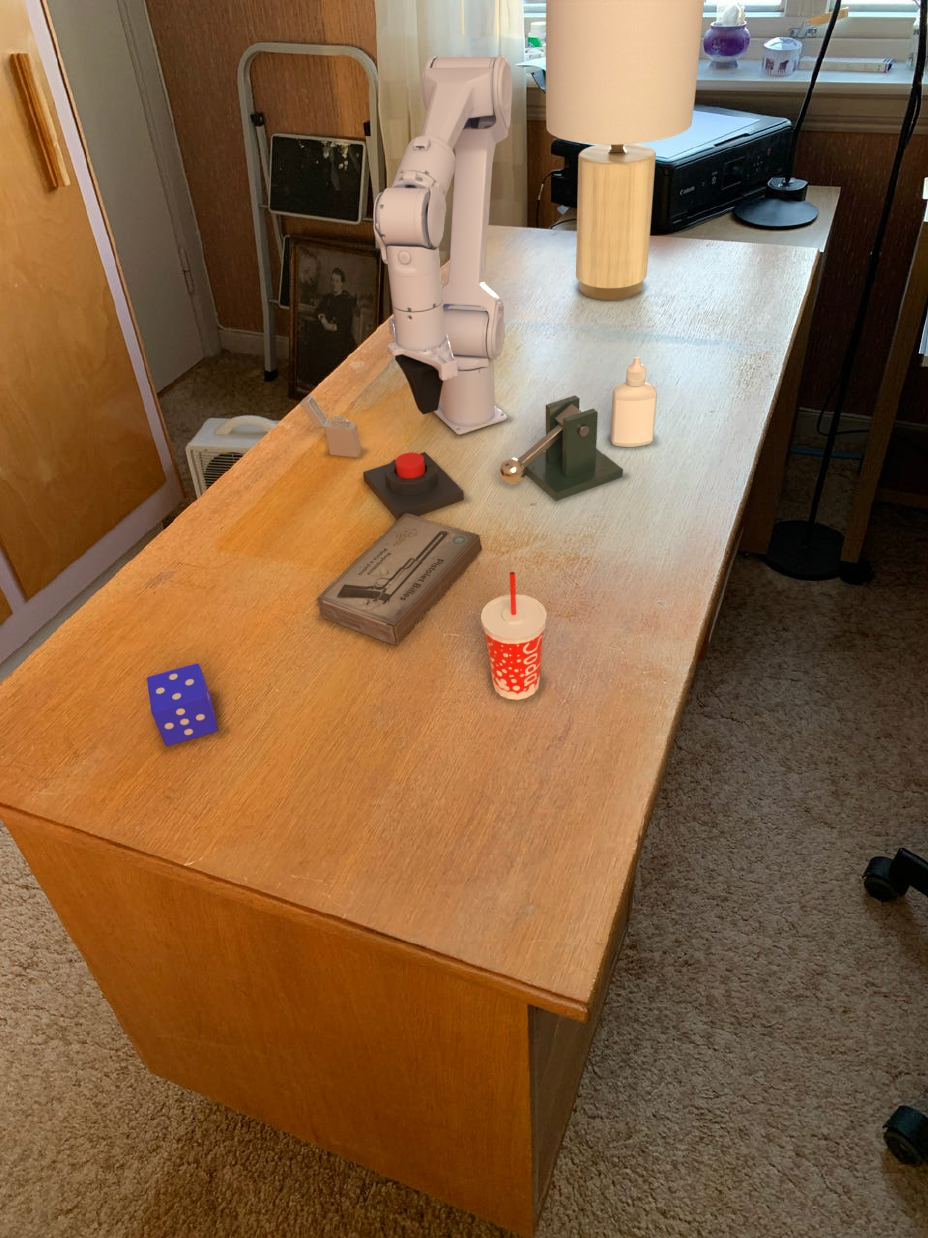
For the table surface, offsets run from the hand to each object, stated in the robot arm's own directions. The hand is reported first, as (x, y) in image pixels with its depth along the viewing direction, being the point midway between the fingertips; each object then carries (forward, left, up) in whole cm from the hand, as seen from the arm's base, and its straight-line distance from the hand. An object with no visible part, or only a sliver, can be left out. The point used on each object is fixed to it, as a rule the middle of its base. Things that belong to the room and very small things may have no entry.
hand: (428, 409), depth 111 cm
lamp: (-38, +54, -11) cm, 67 cm away
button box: (0, -3, -10) cm, 11 cm away
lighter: (-14, -8, -11) cm, 20 cm away
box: (+18, -13, -11) cm, 24 cm away
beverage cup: (+37, -9, -11) cm, 39 cm away
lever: (+8, +12, -6) cm, 16 cm away
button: (0, -3, -8) cm, 8 cm away
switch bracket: (+8, +16, -10) cm, 20 cm away
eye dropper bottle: (+6, +27, -11) cm, 29 cm away
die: (+25, -39, -11) cm, 48 cm away
